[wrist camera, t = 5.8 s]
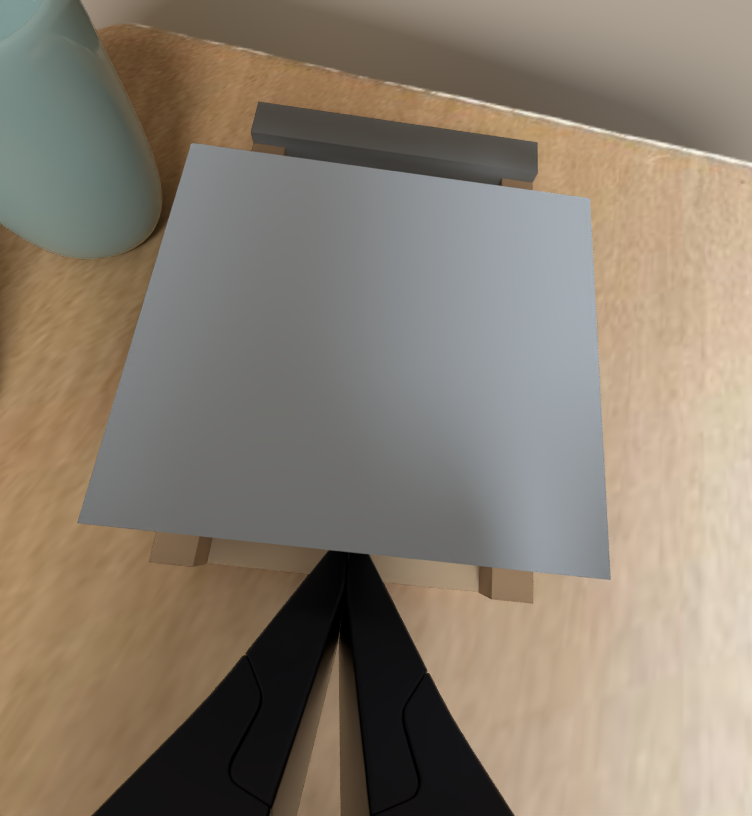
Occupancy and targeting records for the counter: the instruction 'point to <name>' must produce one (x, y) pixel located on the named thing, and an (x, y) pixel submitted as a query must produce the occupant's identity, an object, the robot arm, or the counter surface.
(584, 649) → the counter surface
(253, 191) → the block
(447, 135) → the chute
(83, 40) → the cup
